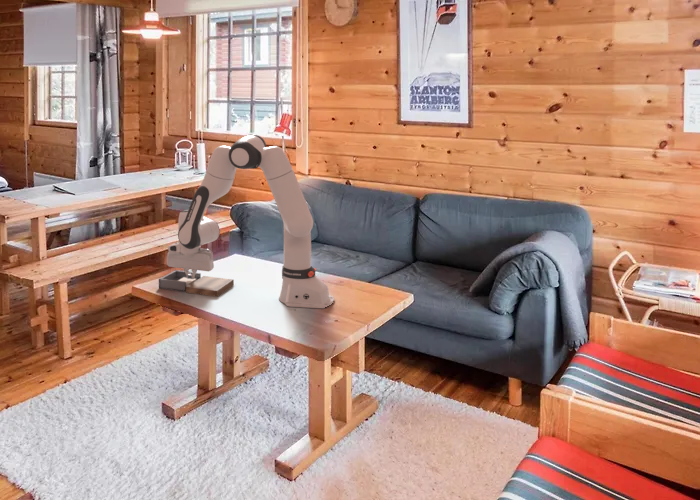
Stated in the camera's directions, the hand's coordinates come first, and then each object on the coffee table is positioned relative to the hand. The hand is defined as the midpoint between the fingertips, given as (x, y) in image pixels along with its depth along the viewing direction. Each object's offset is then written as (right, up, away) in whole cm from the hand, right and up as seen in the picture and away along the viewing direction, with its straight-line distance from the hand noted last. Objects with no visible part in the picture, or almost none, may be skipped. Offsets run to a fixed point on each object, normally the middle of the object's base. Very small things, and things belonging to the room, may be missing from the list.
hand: (190, 278), depth 270 cm
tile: (-2, -3, +1) cm, 3 cm away
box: (-5, -3, +2) cm, 6 cm away
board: (+9, -4, -1) cm, 10 cm away
